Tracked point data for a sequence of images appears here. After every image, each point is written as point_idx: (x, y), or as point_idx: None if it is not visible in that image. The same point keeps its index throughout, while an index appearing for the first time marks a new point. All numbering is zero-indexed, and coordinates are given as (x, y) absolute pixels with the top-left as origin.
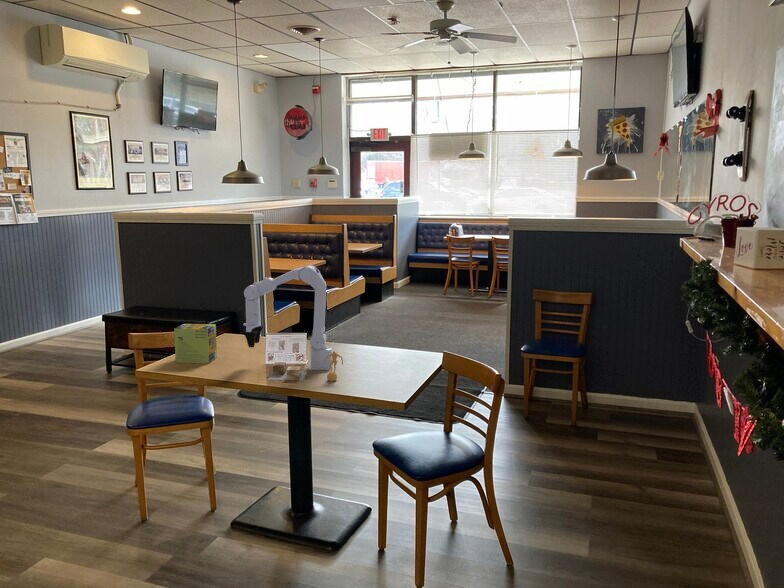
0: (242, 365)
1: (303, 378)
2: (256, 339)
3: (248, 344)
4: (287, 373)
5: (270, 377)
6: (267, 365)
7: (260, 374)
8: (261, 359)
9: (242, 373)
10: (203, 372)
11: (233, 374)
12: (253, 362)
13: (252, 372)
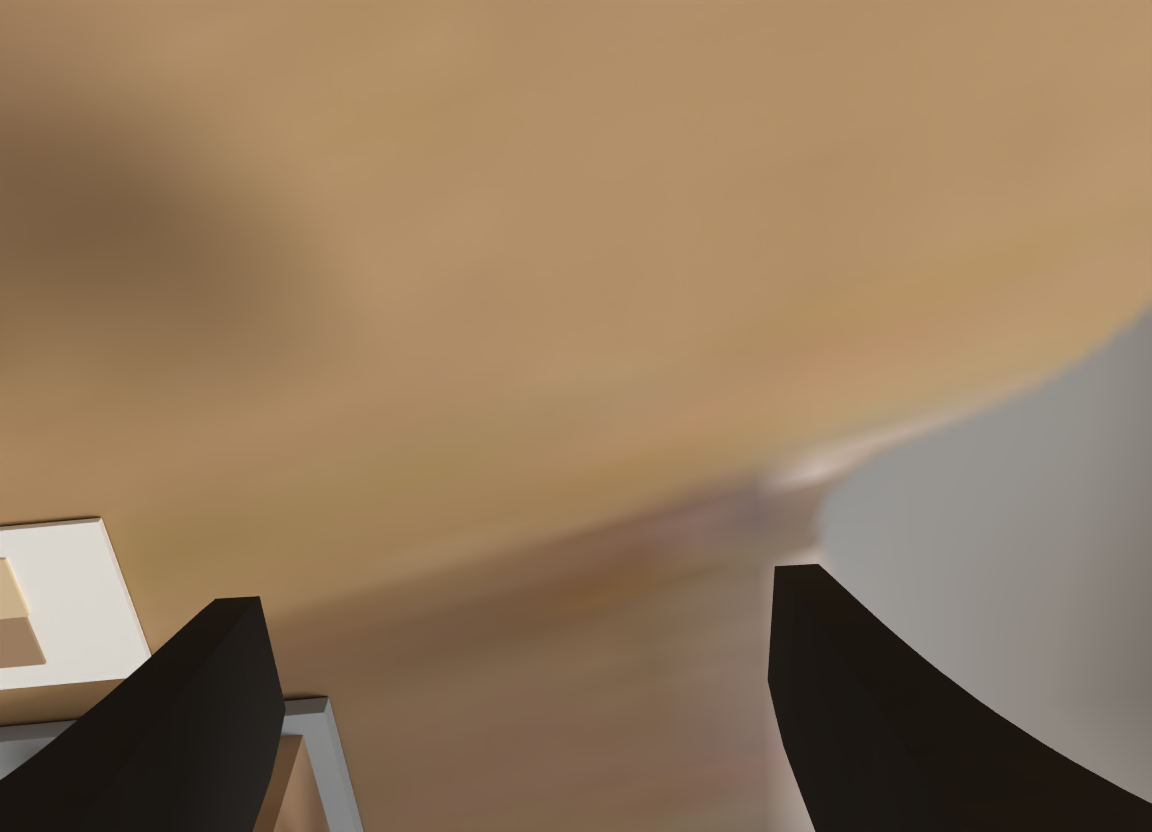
0: (659, 87)
1: None
2: (804, 711)
3: (163, 658)
4: None
5: (9, 754)
6: (689, 519)
7: (182, 562)
8: (1078, 316)
9: (143, 273)
10: None
11: (25, 126)
12: (877, 236)
13: (251, 418)
